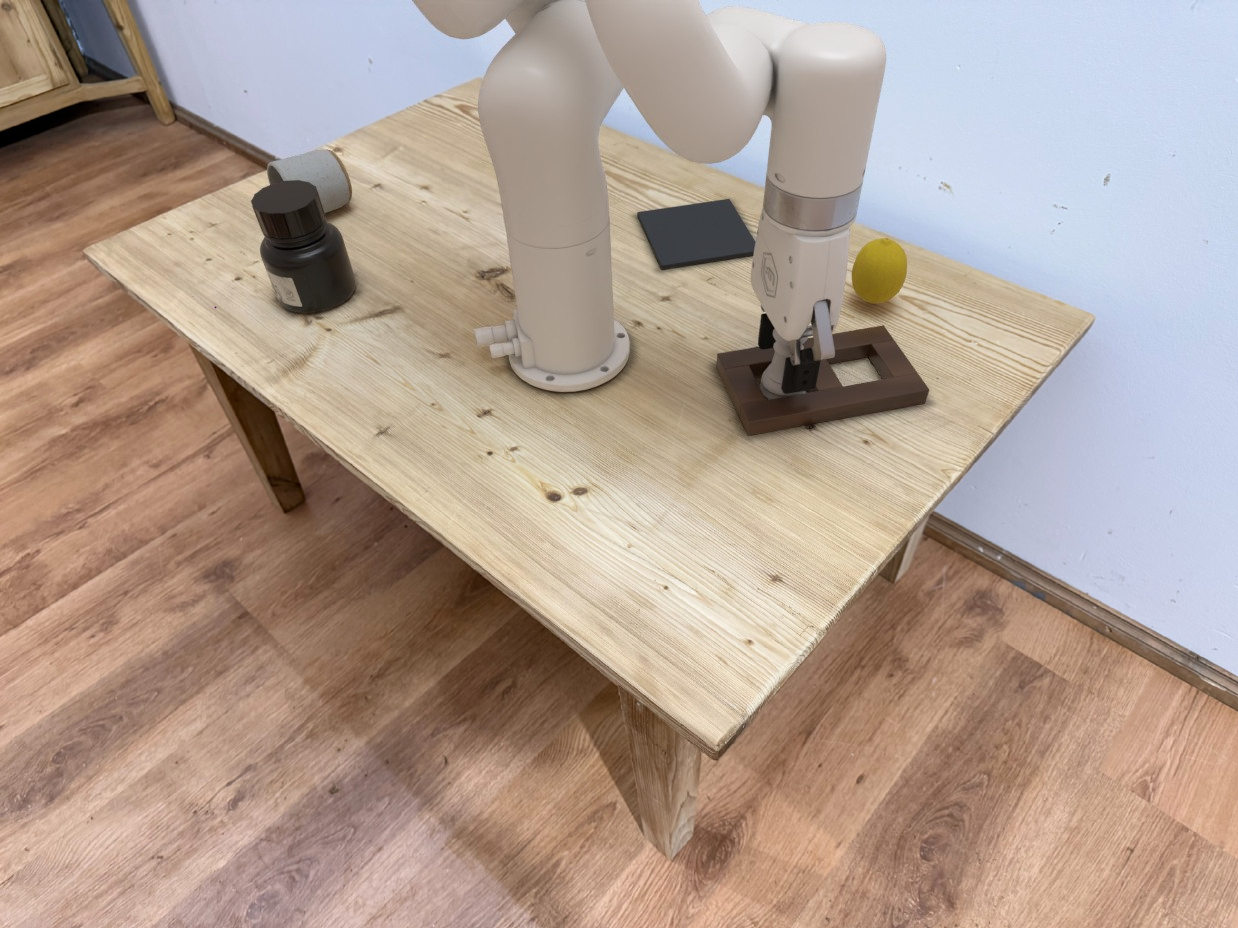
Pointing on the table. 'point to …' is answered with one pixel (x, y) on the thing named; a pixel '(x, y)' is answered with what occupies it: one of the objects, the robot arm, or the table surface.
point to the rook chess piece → (777, 369)
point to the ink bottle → (302, 248)
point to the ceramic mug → (316, 175)
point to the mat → (696, 233)
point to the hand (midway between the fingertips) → (785, 365)
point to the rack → (823, 384)
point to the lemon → (879, 270)
